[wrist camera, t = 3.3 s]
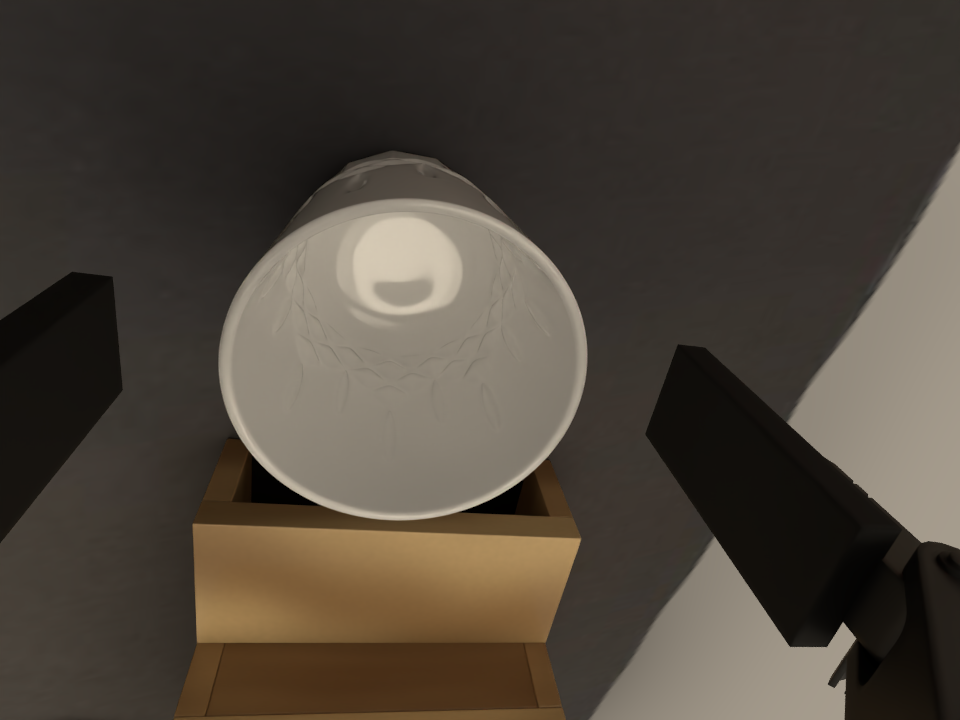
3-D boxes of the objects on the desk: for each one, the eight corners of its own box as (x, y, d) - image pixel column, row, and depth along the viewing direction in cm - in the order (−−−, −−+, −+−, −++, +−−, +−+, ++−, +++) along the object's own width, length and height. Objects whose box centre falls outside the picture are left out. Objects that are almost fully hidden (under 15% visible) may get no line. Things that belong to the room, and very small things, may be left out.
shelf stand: (226, 437, 24) (118, 703, 14) (550, 459, 27) (643, 692, 17) (228, 710, 32) (158, 1002, 22) (478, 704, 35) (515, 959, 25)
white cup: (328, 90, 19) (279, 127, 10) (542, 187, 21) (653, 285, 12) (262, 304, 22) (179, 477, 13) (457, 368, 24) (497, 550, 15)
